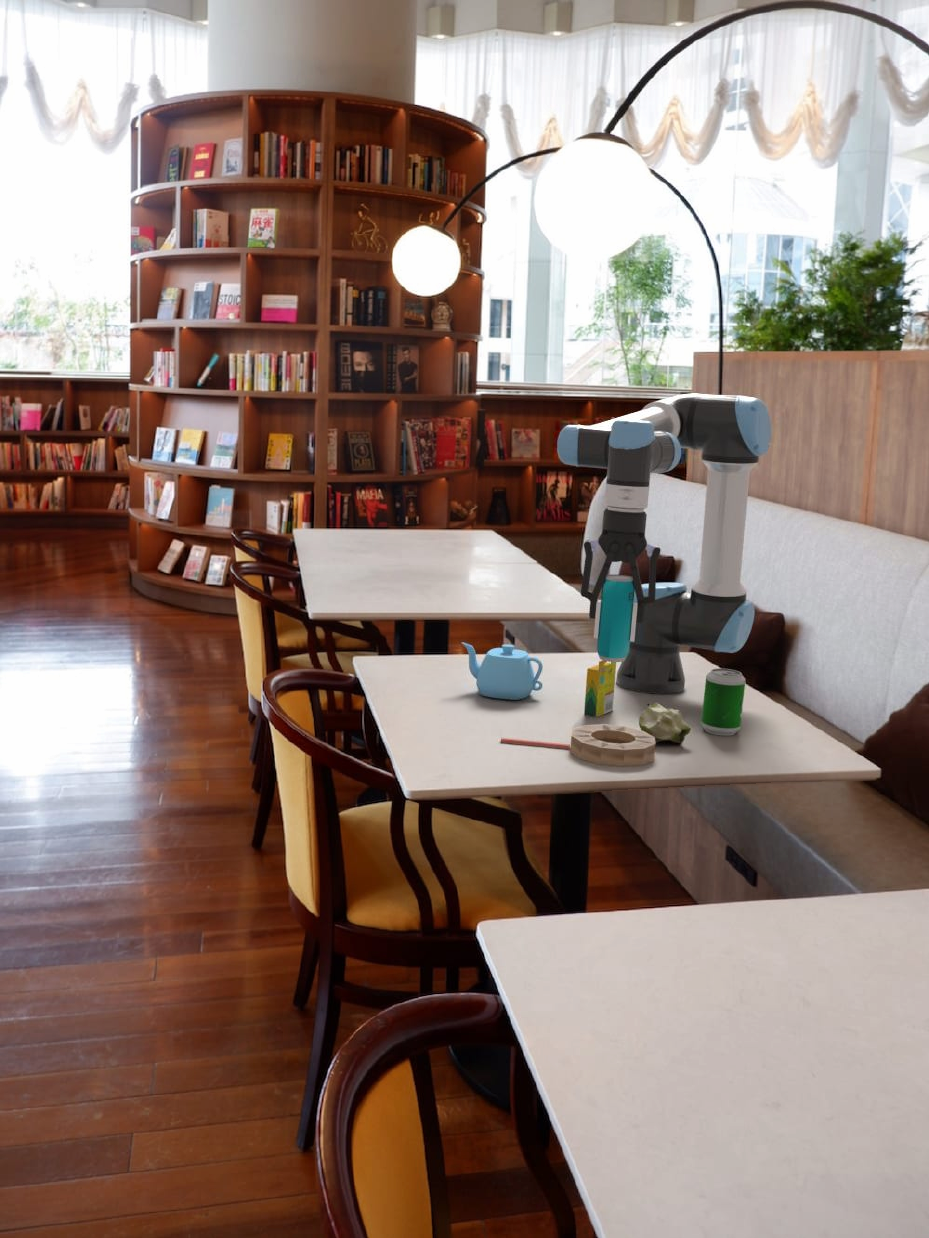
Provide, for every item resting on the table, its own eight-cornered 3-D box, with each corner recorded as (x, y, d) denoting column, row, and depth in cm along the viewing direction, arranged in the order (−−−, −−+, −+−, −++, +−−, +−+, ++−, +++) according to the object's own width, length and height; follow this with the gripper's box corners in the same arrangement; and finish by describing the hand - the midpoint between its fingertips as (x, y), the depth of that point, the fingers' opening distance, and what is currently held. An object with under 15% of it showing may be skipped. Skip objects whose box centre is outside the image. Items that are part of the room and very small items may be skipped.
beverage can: (631, 658, 216) (638, 576, 213) (624, 664, 210) (631, 580, 207) (600, 654, 217) (607, 572, 214) (592, 660, 212) (599, 577, 209)
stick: (501, 740, 219) (501, 737, 219) (569, 747, 218) (569, 744, 218) (500, 742, 218) (500, 739, 218) (569, 748, 217) (569, 745, 217)
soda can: (740, 738, 230) (746, 678, 228) (700, 734, 232) (706, 674, 229) (739, 728, 237) (745, 669, 235) (700, 723, 239) (706, 665, 236)
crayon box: (600, 708, 246) (605, 653, 244) (613, 711, 244) (618, 655, 242) (582, 715, 240) (587, 658, 238) (595, 718, 238) (600, 661, 236)
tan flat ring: (572, 736, 225) (573, 721, 224) (652, 744, 223) (654, 728, 222) (568, 760, 210) (570, 744, 209) (654, 769, 208) (656, 752, 208)
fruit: (631, 740, 229) (637, 699, 229) (679, 747, 230) (685, 706, 230) (641, 746, 220) (647, 703, 220) (690, 753, 220) (696, 710, 220)
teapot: (468, 634, 258) (550, 643, 254) (465, 682, 260) (546, 692, 256) (453, 645, 246) (539, 655, 242) (450, 695, 248) (535, 706, 244)
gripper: (570, 507, 206) (560, 637, 211) (680, 515, 204) (667, 647, 208) (573, 503, 213) (563, 629, 218) (679, 511, 211) (666, 638, 215)
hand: (614, 638), depth 213 cm, fingers closed on beverage can, 6 cm apart
